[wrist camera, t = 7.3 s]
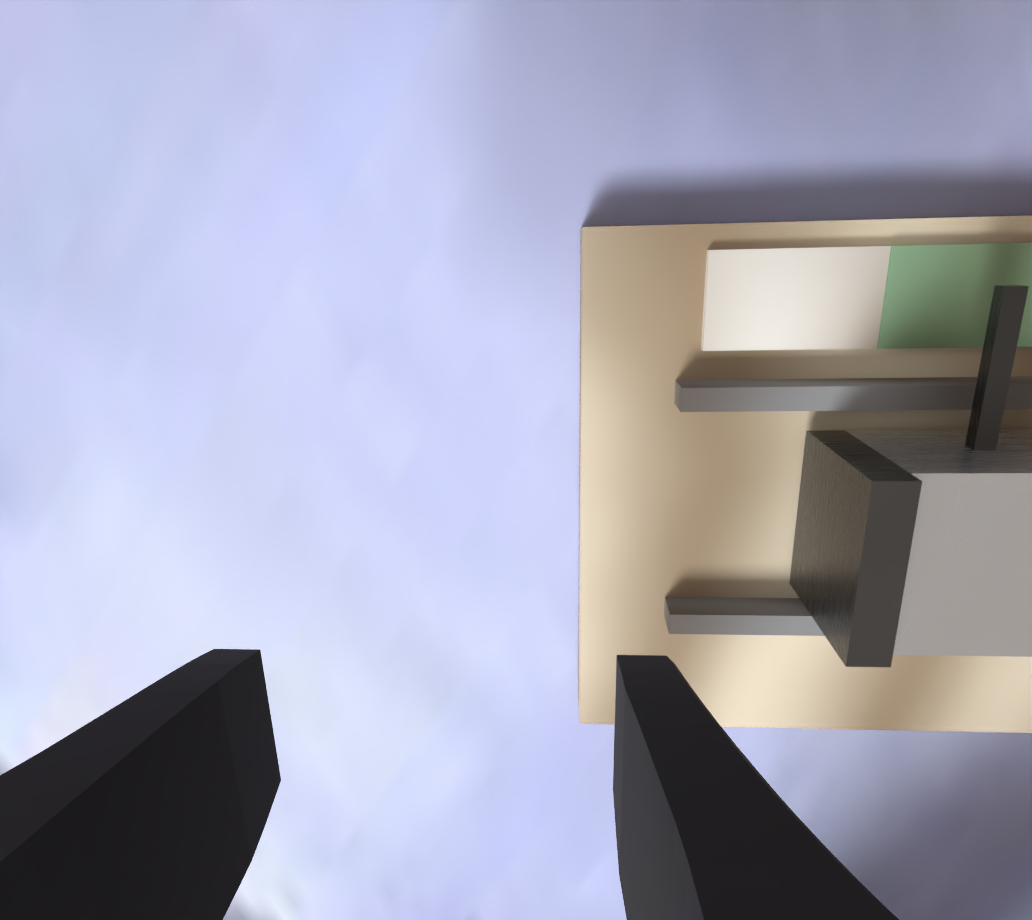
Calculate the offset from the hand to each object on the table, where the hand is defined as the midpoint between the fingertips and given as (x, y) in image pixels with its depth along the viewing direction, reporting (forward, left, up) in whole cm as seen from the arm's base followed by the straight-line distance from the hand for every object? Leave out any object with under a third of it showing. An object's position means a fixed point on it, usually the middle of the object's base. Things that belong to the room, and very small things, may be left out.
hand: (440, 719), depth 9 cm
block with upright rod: (+1, -9, -7) cm, 12 cm away
